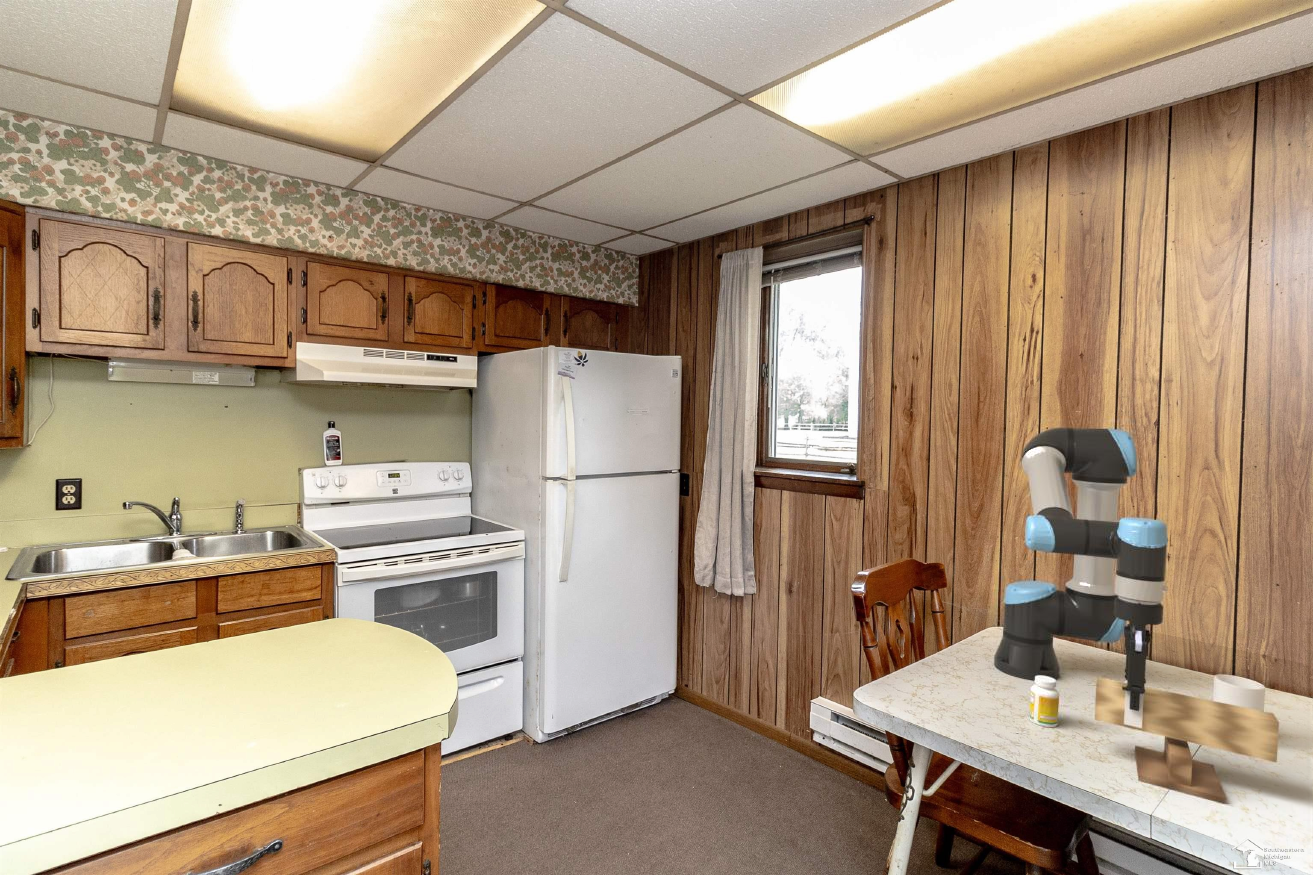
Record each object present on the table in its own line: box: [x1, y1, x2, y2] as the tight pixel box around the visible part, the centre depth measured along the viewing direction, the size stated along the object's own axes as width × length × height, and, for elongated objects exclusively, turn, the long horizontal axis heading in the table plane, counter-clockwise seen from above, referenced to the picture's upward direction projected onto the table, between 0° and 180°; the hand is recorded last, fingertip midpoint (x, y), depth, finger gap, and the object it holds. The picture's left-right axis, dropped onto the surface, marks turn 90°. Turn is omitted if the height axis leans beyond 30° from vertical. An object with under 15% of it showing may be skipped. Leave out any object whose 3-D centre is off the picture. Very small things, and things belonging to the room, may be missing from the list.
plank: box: [1094, 676, 1280, 764], centre depth 122 cm, size 26×4×7 cm, turn 56°
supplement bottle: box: [1028, 675, 1060, 728], centre depth 142 cm, size 5×5×10 cm
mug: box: [1212, 674, 1266, 712], centre depth 140 cm, size 12×8×12 cm
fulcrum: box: [1134, 736, 1226, 805], centre depth 122 cm, size 12×14×6 cm
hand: (1132, 720), depth 126 cm, fingers closed on plank, 4 cm apart
